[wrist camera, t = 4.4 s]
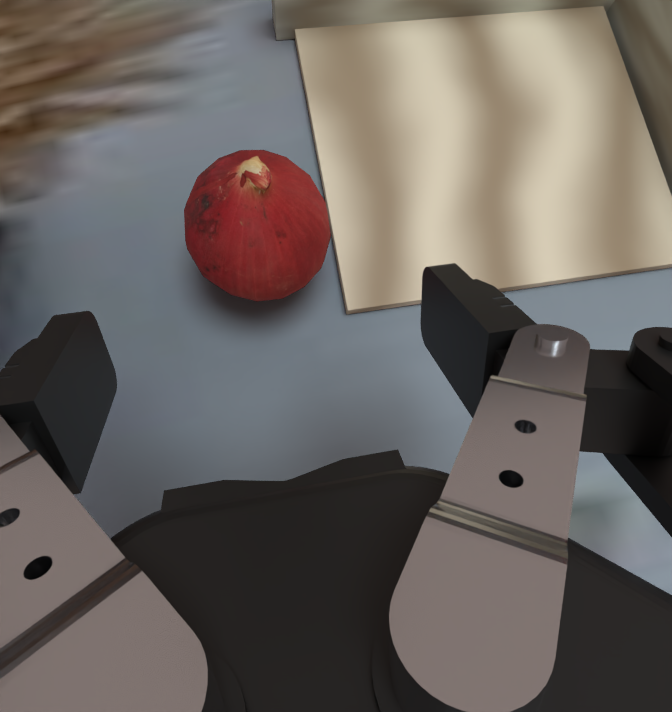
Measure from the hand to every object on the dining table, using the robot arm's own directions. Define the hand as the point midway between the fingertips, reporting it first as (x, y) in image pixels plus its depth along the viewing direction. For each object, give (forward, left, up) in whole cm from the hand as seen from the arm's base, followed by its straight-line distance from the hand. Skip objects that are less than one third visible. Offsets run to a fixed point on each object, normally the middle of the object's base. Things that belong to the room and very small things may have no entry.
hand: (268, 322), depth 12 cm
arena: (+13, +12, -10) cm, 20 cm away
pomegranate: (0, +6, -11) cm, 12 cm away
